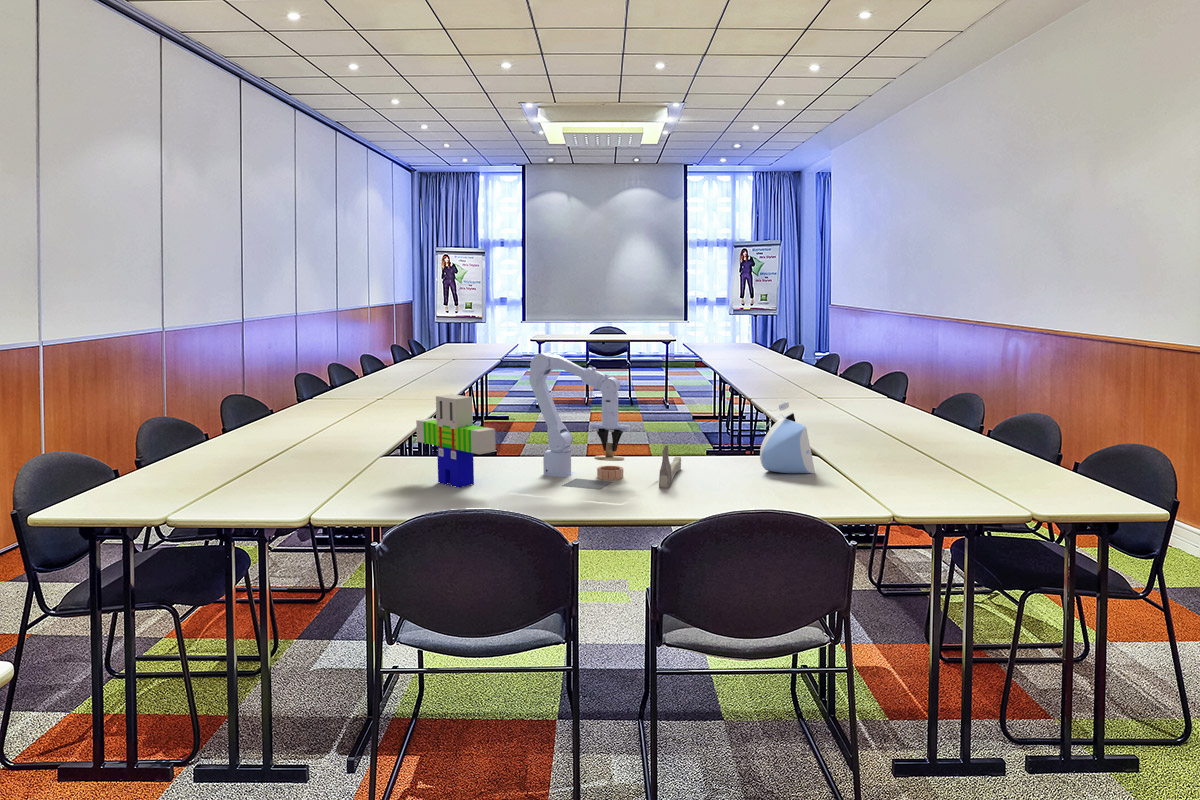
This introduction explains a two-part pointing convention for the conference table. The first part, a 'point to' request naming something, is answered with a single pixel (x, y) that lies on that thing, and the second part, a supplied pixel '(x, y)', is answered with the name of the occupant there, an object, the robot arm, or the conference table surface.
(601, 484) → the mat
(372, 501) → the conference table surface
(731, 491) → the conference table surface
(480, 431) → the toy
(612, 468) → the bowl
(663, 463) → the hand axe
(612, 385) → the robot arm
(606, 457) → the lid
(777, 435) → the retro desktop computer
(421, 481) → the conference table surface
